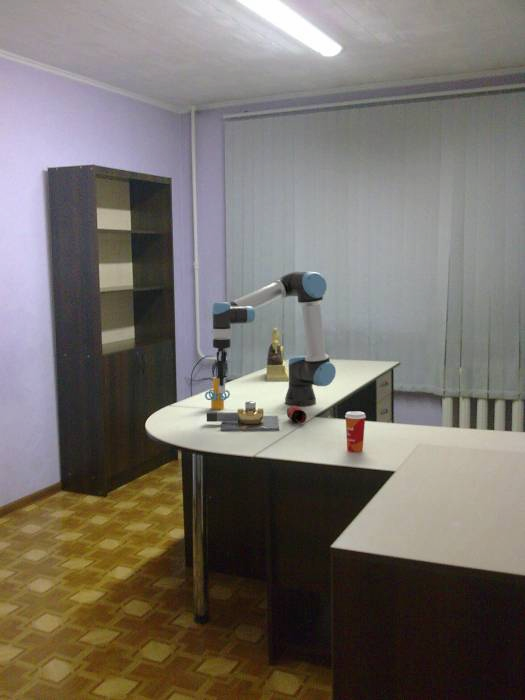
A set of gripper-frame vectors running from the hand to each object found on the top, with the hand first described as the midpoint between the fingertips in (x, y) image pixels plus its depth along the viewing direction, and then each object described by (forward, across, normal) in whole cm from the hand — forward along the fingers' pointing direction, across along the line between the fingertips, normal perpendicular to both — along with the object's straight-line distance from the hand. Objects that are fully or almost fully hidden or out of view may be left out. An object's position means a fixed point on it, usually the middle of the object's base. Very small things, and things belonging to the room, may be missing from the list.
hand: (221, 392), depth 308 cm
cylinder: (+13, -28, -6) cm, 32 cm away
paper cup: (+13, +42, +55) cm, 71 cm away
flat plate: (+13, +3, +13) cm, 18 cm away
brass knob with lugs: (+12, +4, +6) cm, 14 cm away
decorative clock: (+13, -121, +17) cm, 123 cm away
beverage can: (+13, -3, +32) cm, 35 cm away
